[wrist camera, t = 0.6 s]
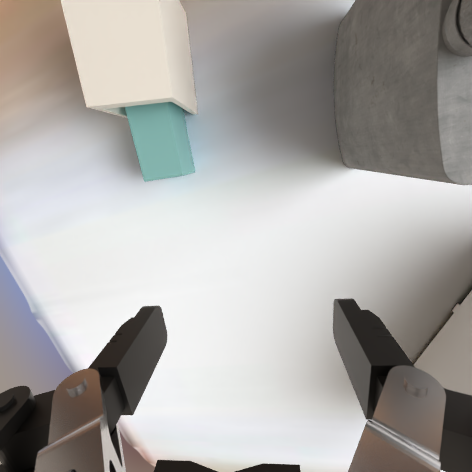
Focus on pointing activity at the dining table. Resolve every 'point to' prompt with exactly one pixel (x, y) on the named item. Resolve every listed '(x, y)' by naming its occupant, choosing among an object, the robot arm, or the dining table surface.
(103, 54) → the cream rectangular block
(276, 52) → the dining table surface
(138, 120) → the teal rectangular block
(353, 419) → the dining table surface
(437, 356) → the model house
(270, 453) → the dining table surface
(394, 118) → the hip flask
